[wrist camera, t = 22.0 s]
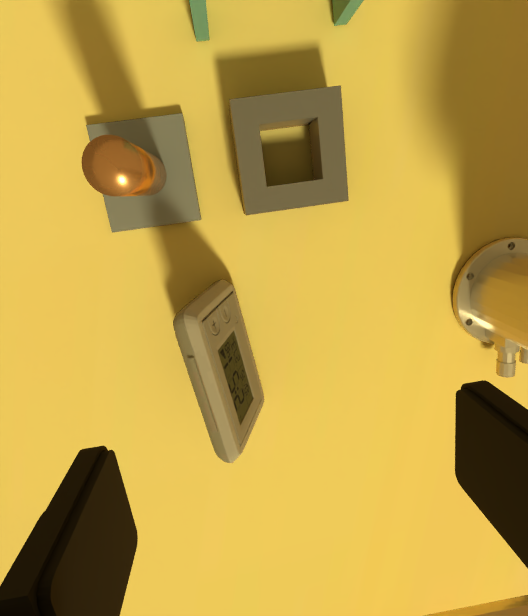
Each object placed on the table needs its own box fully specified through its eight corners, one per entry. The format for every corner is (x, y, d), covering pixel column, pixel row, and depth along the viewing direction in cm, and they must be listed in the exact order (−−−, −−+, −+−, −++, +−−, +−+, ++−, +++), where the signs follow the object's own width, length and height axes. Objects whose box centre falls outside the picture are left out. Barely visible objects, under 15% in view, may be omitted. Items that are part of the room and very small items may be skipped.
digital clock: (263, 406, 48) (274, 463, 37) (188, 412, 47) (178, 472, 37) (257, 275, 43) (268, 299, 33) (174, 280, 42) (159, 306, 32)
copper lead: (170, 192, 39) (147, 192, 27) (129, 198, 39) (90, 200, 27) (161, 150, 38) (134, 130, 26) (120, 155, 38) (74, 138, 26)
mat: (201, 219, 41) (200, 219, 40) (114, 231, 40) (112, 232, 39) (182, 114, 38) (182, 113, 37) (89, 126, 37) (86, 125, 37)
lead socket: (337, 200, 42) (348, 200, 38) (243, 213, 41) (246, 215, 37) (329, 96, 39) (340, 85, 35) (229, 109, 38) (229, 99, 34)
